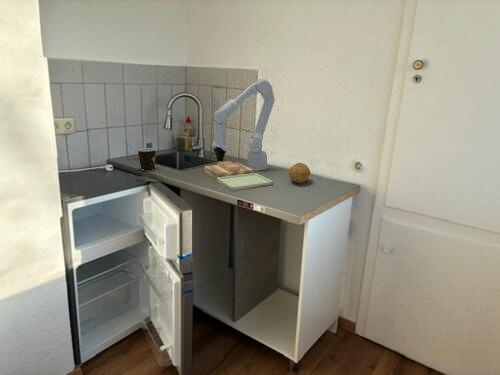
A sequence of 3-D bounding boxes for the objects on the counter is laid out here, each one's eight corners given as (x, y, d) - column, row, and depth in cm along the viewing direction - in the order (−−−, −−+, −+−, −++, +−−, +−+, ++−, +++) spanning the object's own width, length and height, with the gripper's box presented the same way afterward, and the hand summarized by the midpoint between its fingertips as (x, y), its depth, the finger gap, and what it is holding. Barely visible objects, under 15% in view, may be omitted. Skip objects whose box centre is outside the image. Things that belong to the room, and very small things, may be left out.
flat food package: (237, 168, 196) (237, 162, 195) (252, 175, 182) (252, 169, 181) (204, 172, 187) (204, 166, 186) (217, 180, 174) (217, 173, 173)
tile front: (234, 167, 184) (234, 163, 184) (240, 170, 179) (240, 166, 179) (223, 169, 182) (223, 164, 181) (228, 171, 177) (228, 167, 176)
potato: (285, 185, 168) (286, 167, 166) (290, 177, 181) (291, 160, 179) (307, 187, 166) (308, 169, 163) (311, 178, 179) (312, 162, 176)
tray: (255, 176, 182) (255, 172, 181) (273, 184, 168) (273, 181, 168) (216, 181, 173) (216, 177, 172) (231, 190, 159) (231, 187, 159)
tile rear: (228, 164, 190) (228, 160, 190) (234, 167, 185) (234, 163, 185) (217, 165, 188) (217, 161, 187) (222, 168, 182) (222, 164, 182)
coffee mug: (149, 166, 196) (147, 147, 194) (160, 169, 192) (159, 149, 189) (130, 170, 187) (128, 150, 184) (141, 173, 183) (140, 153, 180)
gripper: (206, 133, 192) (207, 160, 196) (218, 138, 180) (218, 166, 184) (219, 132, 195) (220, 158, 199) (231, 137, 183) (231, 164, 187)
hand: (220, 162), depth 192 cm, fingers closed
